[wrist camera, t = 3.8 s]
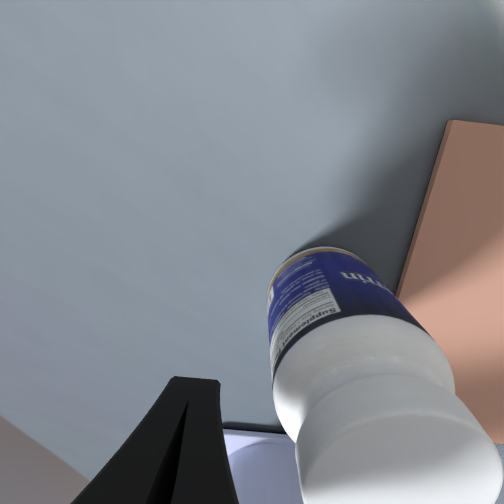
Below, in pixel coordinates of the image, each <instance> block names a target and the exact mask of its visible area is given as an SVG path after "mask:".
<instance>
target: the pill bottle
mask: <svg viewBox="0 0 504 504" xmlns="http://www.w3.org/2000/svg"><path fill="white" fill-rule="evenodd" d="M267 313H268V328H269V343H270V358H271V373H272V389H273V397H274V403H275V408H276V412H277V415H278V417H279V420H280V422H281V424H282V426H283V428H284V429H285V431H286V432H287V434H288V435H289V436H290V438H291V439H292V440H293V441H294V442H295V443H296V445H295V456H296V463H297V468H298V474H299V481H300V487H301V494H302V498H303V502H304V504H494V503H495V502H496V500H497V498H498V496H499V493H500V490H501V487H502V483H503V465H502V460H501V457H500V455H499V452H498V450H497V448H496V446H495V444H494V443H493V441H492V440H491V439H490V437H489V436H488V434H487V433H486V432H485V430H484V429H483V428H482V426H481V425H480V424H479V422H478V421H477V419H476V418H475V417H474V416H473V414H472V413H471V412H470V411H469V409H468V408H467V407H466V405H465V404H464V403H463V402H462V401H461V400H460V399H459V398H458V397H457V396H456V395H455V384H454V377H453V373H452V369H451V367H450V365H449V362H448V360H447V358H446V356H445V355H444V353H443V351H442V350H441V348H440V347H439V345H438V344H437V343H436V342H435V341H434V339H433V338H432V337H431V336H430V334H429V333H428V332H427V331H426V330H425V329H424V328H423V327H422V326H421V325H420V323H419V322H418V321H417V320H416V319H415V318H414V317H413V316H412V315H411V314H410V312H409V311H408V310H407V309H406V308H405V307H404V306H403V305H402V303H401V302H400V301H399V300H398V299H397V298H396V297H395V296H394V294H393V293H392V292H391V291H390V290H389V289H388V287H387V286H386V285H385V284H384V283H383V282H382V281H381V280H380V279H379V278H378V276H377V275H376V274H375V273H374V272H373V271H372V270H371V268H370V267H369V266H368V265H367V264H366V263H365V262H364V261H363V260H362V259H360V258H359V257H358V256H356V255H354V254H353V253H351V252H349V251H346V250H343V249H340V248H336V247H315V248H311V249H307V250H304V251H302V252H299V253H297V254H295V255H294V256H292V257H290V258H289V259H288V260H286V261H285V262H284V263H283V264H282V265H281V266H280V267H279V269H278V270H277V271H276V273H275V274H274V276H273V278H272V280H271V282H270V285H269V288H268V293H267Z"/></svg>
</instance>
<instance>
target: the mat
mask: <svg viewBox="0 0 504 504" xmlns="http://www.w3.org/2000/svg"><path fill="white" fill-rule="evenodd" d="M395 297H396V298H397V299H398V300H399V301H400V302H401V303H402V305H403V306H404V307H405V308H406V309H407V310H408V311H409V312H410V314H411V315H412V316H413V317H414V318H415V319H416V320H417V321H418V322H419V323H420V325H421V326H422V327H423V328H424V329H425V330H426V331H427V332H428V333H429V334H430V336H431V337H432V338H433V339H434V341H435V342H436V343H437V344H438V345H439V347H440V348H441V350H442V351H443V353H444V355H445V356H446V358H447V360H448V362H449V365H450V367H451V369H452V373H453V377H454V384H455V395H456V396H457V397H458V398H459V399H460V400H461V401H462V402H463V403H464V404H465V405H466V407H467V408H468V409H469V411H470V412H471V413H472V414H473V416H474V417H475V418H476V419H477V421H478V422H479V424H480V425H481V426H482V428H483V429H484V430H485V432H486V433H487V434H488V436H489V437H490V439H491V440H492V441H493V443H495V444H504V126H502V125H494V124H485V123H477V122H469V121H460V120H448V122H447V125H446V129H445V132H444V135H443V139H442V142H441V145H440V149H439V152H438V155H437V159H436V162H435V165H434V168H433V172H432V175H431V178H430V182H429V185H428V188H427V192H426V195H425V198H424V202H423V205H422V208H421V212H420V215H419V218H418V222H417V225H416V228H415V232H414V235H413V238H412V241H411V245H410V248H409V251H408V255H407V258H406V261H405V265H404V268H403V271H402V275H401V278H400V281H399V285H398V288H397V291H396V295H395Z"/></svg>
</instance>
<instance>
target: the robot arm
mask: <svg viewBox="0 0 504 504" xmlns="http://www.w3.org/2000/svg"><path fill="white" fill-rule="evenodd" d="M220 385H221V384H220V383H219V381H218V380H212V379H200V378H189V377H178V376H174V377H173V378H171V379H170V381H169V382H168V384H167V386H166V387H165V389H164V390H163V392H162V393H161V395H160V396H159V398H158V399H157V400H156V402H155V403H154V405H153V406H152V407H151V409H150V410H149V412H148V413H147V414H146V416H145V417H144V418H143V420H142V421H141V422H140V423H139V425H138V426H137V427H136V429H135V430H134V431H133V432H132V434H131V435H130V436H129V437H128V439H127V440H126V441H125V443H124V444H123V445H122V446H121V447H120V449H119V450H118V451H117V452H116V453H115V454H114V456H113V457H112V458H111V459H110V460H109V461H108V463H107V464H106V465H105V466H104V467H103V468H102V470H101V471H100V472H99V473H98V474H97V475H96V476H95V478H94V479H93V480H92V481H91V482H90V483H89V484H88V485H87V487H86V488H85V489H84V490H83V491H82V492H81V493H80V494H79V495H78V496H77V497H76V498H75V500H74V501H73V502H72V503H71V504H304V502H303V498H302V494H301V487H300V481H299V474H298V468H297V463H296V456H295V445H296V443H295V442H294V441H293V440H292V439H291V438H290V436H289V435H286V434H274V433H263V432H252V431H241V430H229V429H223V427H222V419H221V410H220Z"/></svg>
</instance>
